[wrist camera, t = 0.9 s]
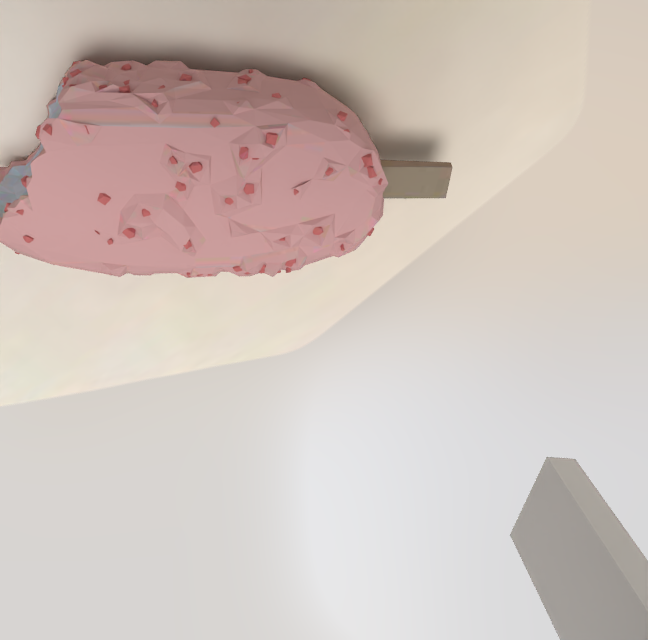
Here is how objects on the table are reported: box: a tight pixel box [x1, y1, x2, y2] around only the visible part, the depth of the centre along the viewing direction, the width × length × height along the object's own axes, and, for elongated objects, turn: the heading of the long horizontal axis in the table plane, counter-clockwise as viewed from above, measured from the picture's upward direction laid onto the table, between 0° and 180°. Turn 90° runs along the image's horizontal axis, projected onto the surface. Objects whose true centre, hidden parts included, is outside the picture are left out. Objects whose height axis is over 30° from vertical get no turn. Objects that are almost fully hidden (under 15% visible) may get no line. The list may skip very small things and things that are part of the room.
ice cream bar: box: [0, 60, 452, 278], centre depth 35 cm, size 13×9×30 cm
